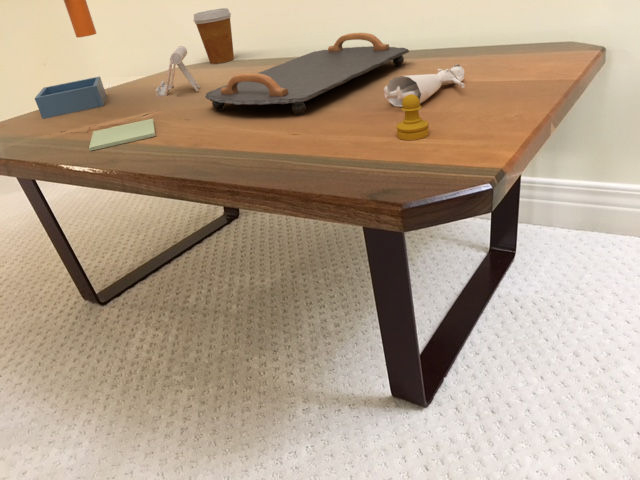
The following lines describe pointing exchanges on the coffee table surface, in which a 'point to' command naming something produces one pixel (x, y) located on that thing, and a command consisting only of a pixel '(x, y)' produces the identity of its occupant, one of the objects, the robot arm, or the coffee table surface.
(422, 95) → the woman figurine
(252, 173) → the coffee table surface
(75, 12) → the glue stick
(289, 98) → the serving tray
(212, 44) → the disposable coffee cup
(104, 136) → the mat
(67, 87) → the box
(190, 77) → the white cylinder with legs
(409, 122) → the chess piece
